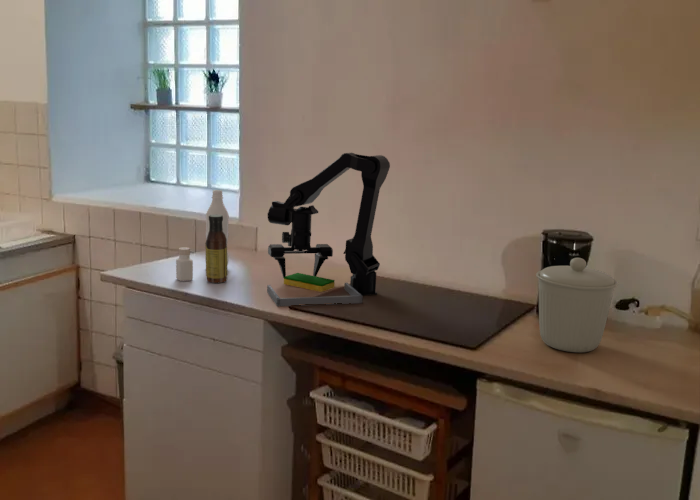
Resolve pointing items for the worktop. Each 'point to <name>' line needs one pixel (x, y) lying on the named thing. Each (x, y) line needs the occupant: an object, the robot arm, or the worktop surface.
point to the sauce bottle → (216, 251)
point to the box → (317, 298)
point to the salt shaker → (184, 265)
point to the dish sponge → (309, 282)
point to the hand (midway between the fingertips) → (299, 278)
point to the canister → (574, 305)
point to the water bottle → (219, 209)
